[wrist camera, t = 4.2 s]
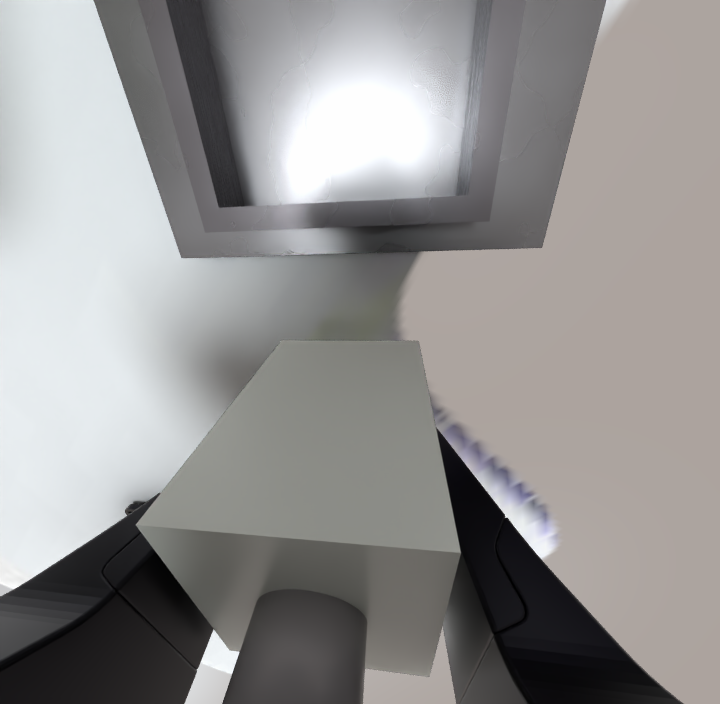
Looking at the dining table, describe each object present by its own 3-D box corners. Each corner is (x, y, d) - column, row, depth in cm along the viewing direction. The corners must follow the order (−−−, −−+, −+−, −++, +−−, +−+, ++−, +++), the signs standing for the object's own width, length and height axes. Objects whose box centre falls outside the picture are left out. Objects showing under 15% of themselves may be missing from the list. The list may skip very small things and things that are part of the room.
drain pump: (411, 452, 11) (438, 782, 5) (302, 446, 12) (197, 740, 5) (418, 340, 9) (492, 708, 2) (281, 340, 9) (42, 643, 3)
